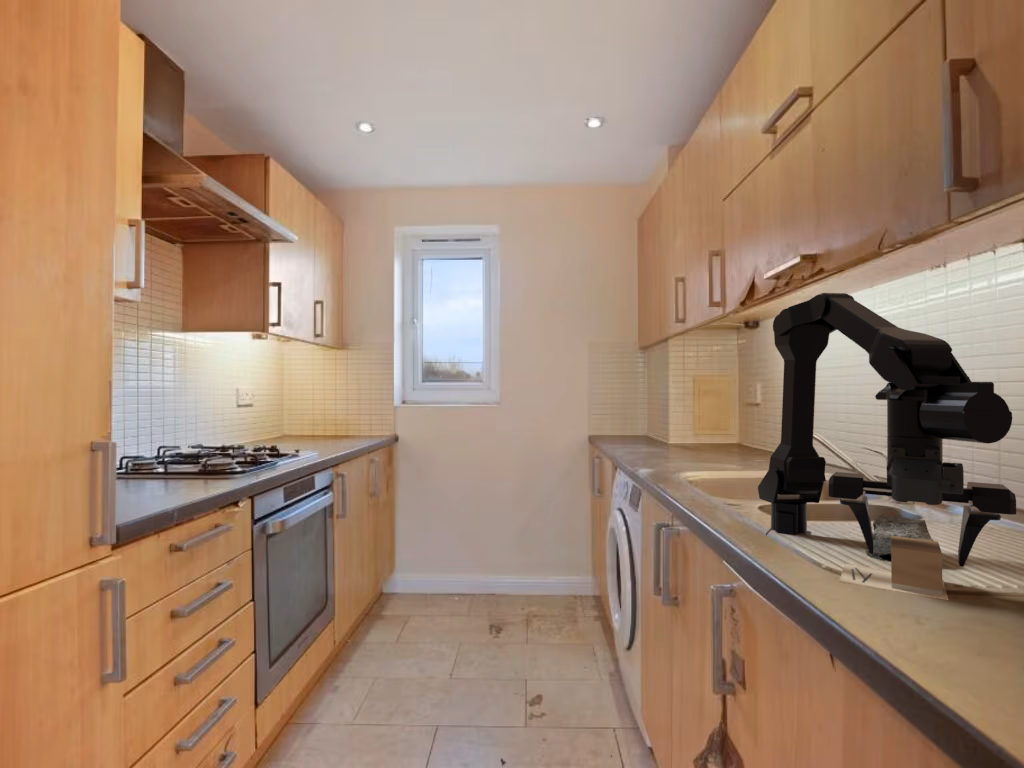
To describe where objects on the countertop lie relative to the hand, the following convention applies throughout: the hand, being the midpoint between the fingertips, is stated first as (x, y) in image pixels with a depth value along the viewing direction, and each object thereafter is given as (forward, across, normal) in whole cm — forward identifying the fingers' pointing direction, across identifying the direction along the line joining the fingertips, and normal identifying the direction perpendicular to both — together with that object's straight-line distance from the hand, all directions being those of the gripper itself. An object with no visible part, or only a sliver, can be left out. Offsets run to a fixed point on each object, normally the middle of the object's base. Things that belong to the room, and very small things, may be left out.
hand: (914, 559), depth 71 cm
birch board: (+4, -2, 0) cm, 5 cm away
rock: (+5, -2, +15) cm, 16 cm away
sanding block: (+3, 0, 0) cm, 3 cm away
